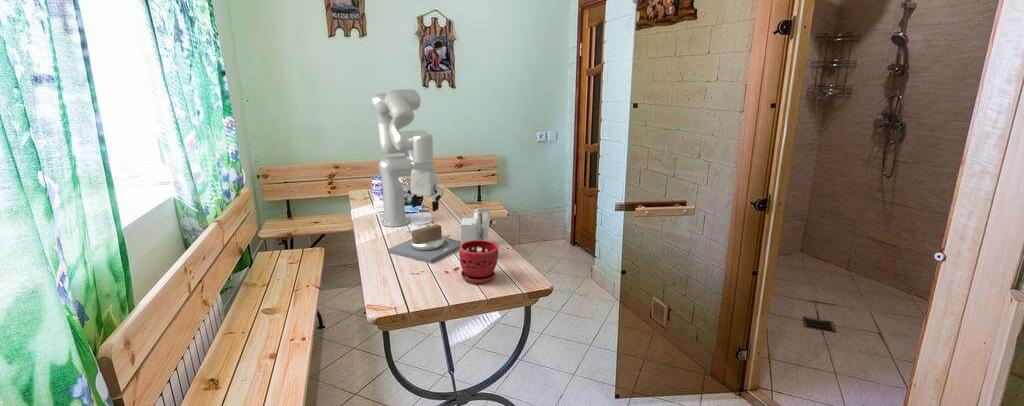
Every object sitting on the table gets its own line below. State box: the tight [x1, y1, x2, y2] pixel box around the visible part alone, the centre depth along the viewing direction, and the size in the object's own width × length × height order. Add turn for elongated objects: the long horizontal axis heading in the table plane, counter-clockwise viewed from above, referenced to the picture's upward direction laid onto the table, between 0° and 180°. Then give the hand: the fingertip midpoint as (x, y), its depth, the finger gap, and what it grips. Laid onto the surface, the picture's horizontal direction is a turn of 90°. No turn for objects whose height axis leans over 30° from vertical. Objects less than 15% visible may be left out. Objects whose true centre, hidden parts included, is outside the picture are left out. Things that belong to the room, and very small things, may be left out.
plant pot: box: [458, 240, 499, 284], centre depth 160 cm, size 13×13×12 cm
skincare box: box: [460, 217, 479, 260], centre depth 178 cm, size 8×6×15 cm
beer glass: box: [472, 207, 491, 241], centre depth 192 cm, size 7×7×15 cm
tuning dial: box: [411, 223, 451, 251], centre depth 189 cm, size 18×13×7 cm
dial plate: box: [387, 237, 461, 264], centre depth 189 cm, size 22×22×2 cm
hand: (425, 208), depth 185 cm, fingers open, 9 cm apart
